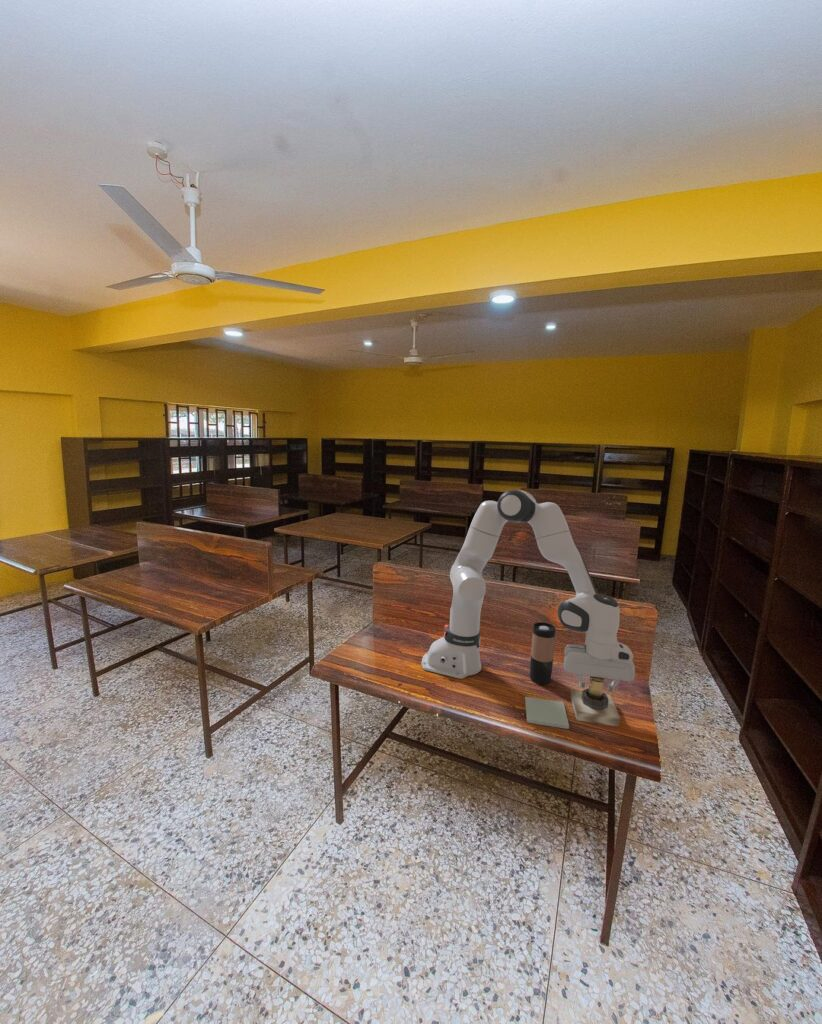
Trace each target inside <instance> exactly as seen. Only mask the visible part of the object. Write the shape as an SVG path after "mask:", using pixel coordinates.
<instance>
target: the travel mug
mask: <svg viewBox="0 0 822 1024" xmlns="http://www.w3.org/2000/svg"><path fill="white" fill-rule="evenodd" d="M531 637H532V639H531V649H530V666H529V678H530V679H529V680H530V681H531V682H533V683H534V684H536V685H540V686H541V685H542V686H545V685H549V684H550V683H551V681H552V673H553V665H554V664H553V663H554V655H555V643H556V642H555V640H556V627H555V625H553V624H551V623H548V622H541V621H540V622H535V623H533V627H532V636H531Z"/></svg>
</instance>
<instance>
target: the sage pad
mask: <svg viewBox="0 0 822 1024" xmlns="http://www.w3.org/2000/svg"><path fill="white" fill-rule="evenodd" d="M524 702H525V703H524V704H525V715H526V716H525V717H526V723H528V724H533V725H534V724H535V725H541V726H547V727H552V728H553V727H554V728H561V729H566V730H569V729H570V724H569V719H568V716H567V711H566V708H565V707H566V706H565V703H564V701H560V700H559V701H558V700H550V699H545V698H544V699H543V698H538V697H537V698H536V697H530V696H525V697H524Z"/></svg>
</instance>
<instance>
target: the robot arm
mask: <svg viewBox="0 0 822 1024" xmlns="http://www.w3.org/2000/svg"><path fill="white" fill-rule="evenodd" d="M508 522H511V523H512V522H513V523H528V524H529V525H530V526H531V529H532V531H533V533H534V537H535V540H536V544H537V548H538V550H539V552H540V553H541V555H542V557H544V559H546V560H547V561H549V562H552V563H554V564H558V565H560V566H561V567H563V568H564V569H565V570H566V571H567V573H568V575H569V579H570V581H571V583H572V585H573V587H574V591H575V596H574V597H571V598H569V599H566V600H564V601H562V602H561V603H560V604H559V605H558V607H557V617H558V620H559V623H560V624H562V626H564V627H565V628H566V629H568V630H571V631H575V632H579V633H585V641H584V644H576V643H570V644H568V645H566V646H564V649H563V650H564V651H563V654H564V659H563V669H564V671H565V673H567V674H572V675H575V676H576V678H577V679H578V685H579V686H578V687H579V688H583V689H586V688H585V687H586V686H585V685H586V681H585V679H582V678H583V676H585V677H590V676H593V677H600V678H604V679H609V680H612V682H611V683H610V682H609V683H607V691H608V692H612V693H614V692H615V688H616V687H617V686H618V685H619V683H620V681H622V682H623V681H624V682H625V681H626V682H633V681H634V680H635V676H636V675H635V674H636V668H635V666H636V665H635V663H634V661H633V659H634V654H633V652H632V651H631V649H630V648H629V646H628V645H626V644H624V643H622V642H619V641H618V638H617V636H618V635H617V633H618V630H620V616H621V615H620V605H619V603H618V601H617V600H616V599H614V598H613V597H612V596H609V595H606V594H602V593H599V592H598V590H597V588H596V586H595V584H594V582H593V580H592V577H591V574H590V572H589V569H588V567H587V565H586V563H585V560H584V558H583V556H582V554H581V552H580V551H579V549H578V548H577V546H576V544H575V542H574V539H573V537H572V534H571V531H570V527H569V525H568V522H567V519H566V517H565V515H564V513H563V511H562V509H561V507H560V506H559V505H558V504H557V503H556V502H555V503H554V502H551V501H546V502H542V503H538V500H537V498H536V497H535V496H534V495H533V494H532V493H530V492H527V490H521V489H510V490H507V491H504V492H503V493H502V494H501V495H500V496H499V498H498V500H497V501H496V500H485V501H483V502H481V503H480V505H479V507H478V508H477V510H476V511H475V513H474V516H473V518H472V521H471V523H470V525H469V528H468V531H467V534H466V536H465V539H464V543H462V544H463V545H462V546H461V548H460V550H459V553H458V554H457V557H456V558H455V560H454V562H453V564H452V565H451V568H450V571H449V578H450V581H451V584H452V591H453V593H452V599H451V600H452V601H451V606H450V608H449V609H450V610H449V624H445V625H444V627H443V636H442V637H440V638H438V639H436V640H435V641H433V642H432V643H431V645H430V647H429V649H428V651H426V653H424V655H423V656H422V659H421V662H420V663H421V667H422V670H424V671H428V672H432V673H435V674H440V675H443V676H448V677H451V678H455V679H461V680H462V679H465V678H466V677H468V676H469V677H470V676H474V675H476V674H478V673H479V672H481V671H482V668H483V666H482V662H481V656H480V647H481V646H480V645H481V638H482V637H481V631H480V624H481V610H482V607H483V602H484V597H485V595H486V589H487V588H486V582H485V579H484V577H483V573H482V572H483V570H484V568H485V567H486V565H487V563H488V562H489V560H490V559H491V558H492V557H493V555H494V553H495V550H496V547H497V544H498V541H499V538H500V536H501V534H502V531H503V528H504V526H505V525H506V523H508Z"/></svg>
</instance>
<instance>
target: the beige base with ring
mask: <svg viewBox="0 0 822 1024" xmlns="http://www.w3.org/2000/svg"><path fill="white" fill-rule="evenodd" d="M570 691H571V692H570V701H571V704H572V705H571V706H572V708H573V711H574V715H575V719H576V721H579V722H580V721H581V722H587V723H592V724H593V723H594V724H599V725H606V726H612V727H620V724H621V723H620V722H621V716H620V714H619V712H618V710H617V707H616V705H615V703H614V700H613V698H612V696H611V694H607V693H605V692H603V695H602V700H601V701H599V700H593V699H591V698H590V697H588V692H589V687H588V688H585V689H583V690H581V689H580V690H578V689H571V690H570Z"/></svg>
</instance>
